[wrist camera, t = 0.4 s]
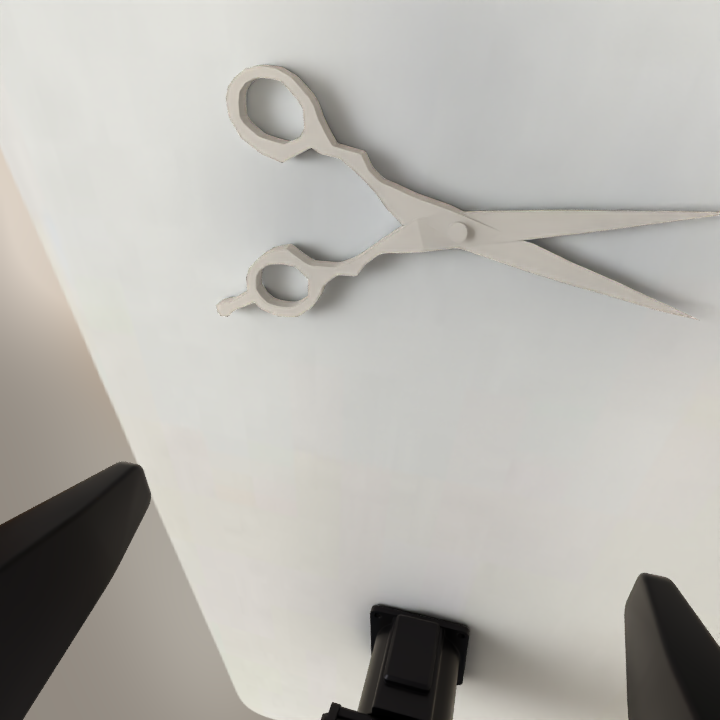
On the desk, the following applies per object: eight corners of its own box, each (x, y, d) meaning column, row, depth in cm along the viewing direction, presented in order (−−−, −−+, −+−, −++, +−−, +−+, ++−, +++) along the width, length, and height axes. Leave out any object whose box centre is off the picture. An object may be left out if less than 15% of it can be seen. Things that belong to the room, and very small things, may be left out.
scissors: (185, 60, 20) (802, 103, 15) (196, 60, 20) (791, 99, 16) (217, 315, 25) (670, 396, 21) (225, 308, 26) (666, 385, 22)
